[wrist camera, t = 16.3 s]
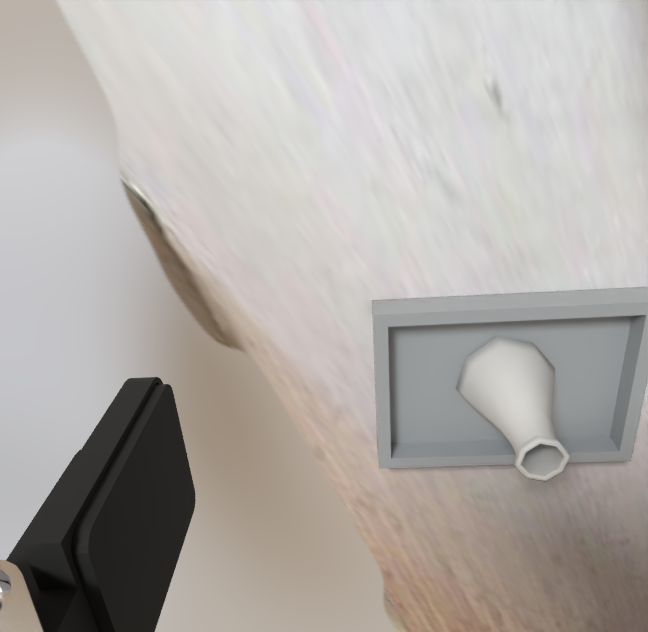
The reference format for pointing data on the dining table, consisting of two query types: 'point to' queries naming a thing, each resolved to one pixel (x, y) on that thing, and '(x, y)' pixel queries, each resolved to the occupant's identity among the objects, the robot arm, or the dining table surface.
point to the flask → (516, 402)
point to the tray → (519, 324)
